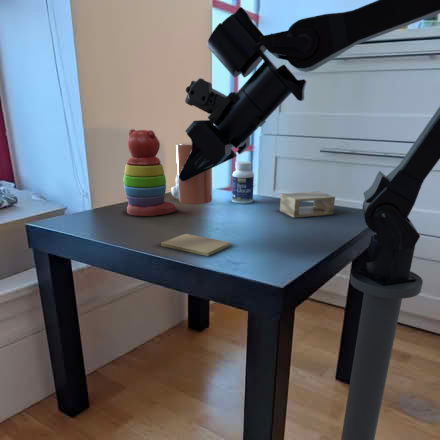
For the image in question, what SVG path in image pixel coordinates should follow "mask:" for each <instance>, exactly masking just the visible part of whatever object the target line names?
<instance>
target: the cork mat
mask: <svg viewBox="0 0 440 440" xmlns="http://www.w3.org/2000/svg"><path fill="white" fill-rule="evenodd" d="M231 245H232V243H231V242H230V241H226V240H220V239H215V238H210V237H206V236H200V235H194V234H190V233H183V234H181V235H178V236H176V237H172V238H169V239H167V240H164V241H162V242H160V246H161V247H164V248H170V249H173V250H177V251H183V252H187V253H191V254H195V255H199V256H200V255H201V256H205V257H209V256H212V255H214V254H216V253H218V252H220V251H222V250H224V249H227V248H229V247H231Z"/></svg>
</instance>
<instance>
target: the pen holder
mask: <svg viewBox="0 0 440 440" xmlns="http://www.w3.org/2000/svg"><path fill="white" fill-rule="evenodd" d="M175 148H176V149H175V151H176V152H175V153H176V175H177V178H178V199H177V200H178V202H179V204H184V205H206V204H210V203H211V202H213V168H211V169H209V170H207V171H205V172H202V173H200V174H198V175H196V176H194V177H192V178H190V179H188V180H185V181H182V180H181V179H180V178H179V174H180V172H181V170H182V168H183V166H184V164H185V162H186V160H187V158H188V156H189V154H190V152H191V150H192V142H180V143H176V144H175Z"/></svg>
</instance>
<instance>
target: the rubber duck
mask: <svg viewBox="0 0 440 440" xmlns="http://www.w3.org/2000/svg"><path fill="white" fill-rule="evenodd" d="M170 193H171V196H173V198H175V199H177V200H178V178H177V174H176V175H175V185H173V186H172V187H170Z"/></svg>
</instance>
